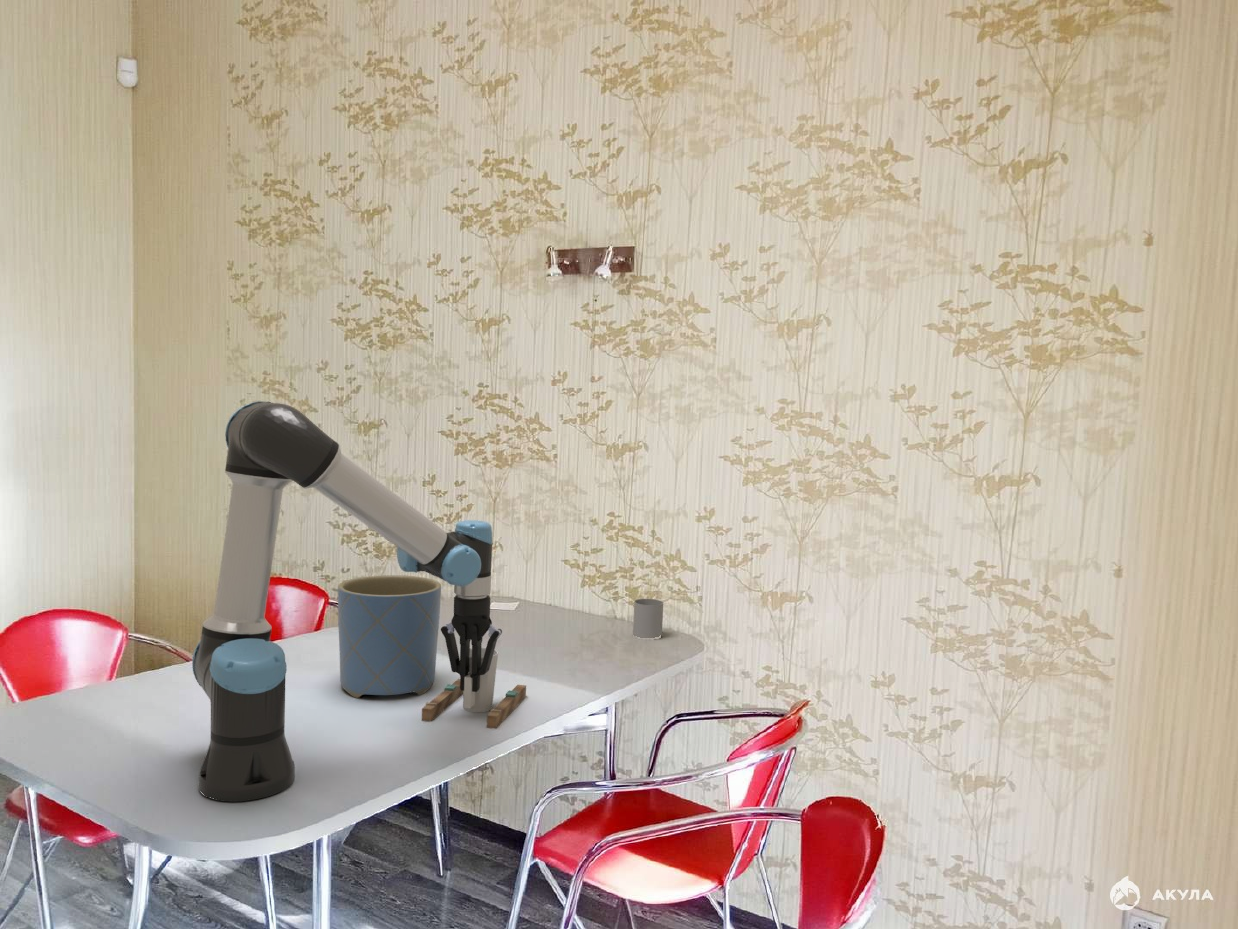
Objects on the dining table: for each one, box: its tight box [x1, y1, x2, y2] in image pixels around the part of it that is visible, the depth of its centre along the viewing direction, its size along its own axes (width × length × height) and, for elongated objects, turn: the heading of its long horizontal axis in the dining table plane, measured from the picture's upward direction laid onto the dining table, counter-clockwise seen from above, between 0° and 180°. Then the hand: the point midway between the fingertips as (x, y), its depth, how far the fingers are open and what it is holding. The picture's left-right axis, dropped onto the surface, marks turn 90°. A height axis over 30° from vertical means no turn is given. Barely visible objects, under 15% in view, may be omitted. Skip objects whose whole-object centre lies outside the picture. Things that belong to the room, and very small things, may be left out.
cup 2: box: [632, 598, 664, 638], centre depth 262 cm, size 8×8×10 cm
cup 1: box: [462, 647, 499, 713], centre depth 197 cm, size 8×8×12 cm
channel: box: [421, 678, 527, 729], centre depth 197 cm, size 21×16×3 cm
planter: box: [337, 574, 442, 699], centre depth 209 cm, size 23×23×24 cm
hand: (469, 705), depth 192 cm, fingers closed
